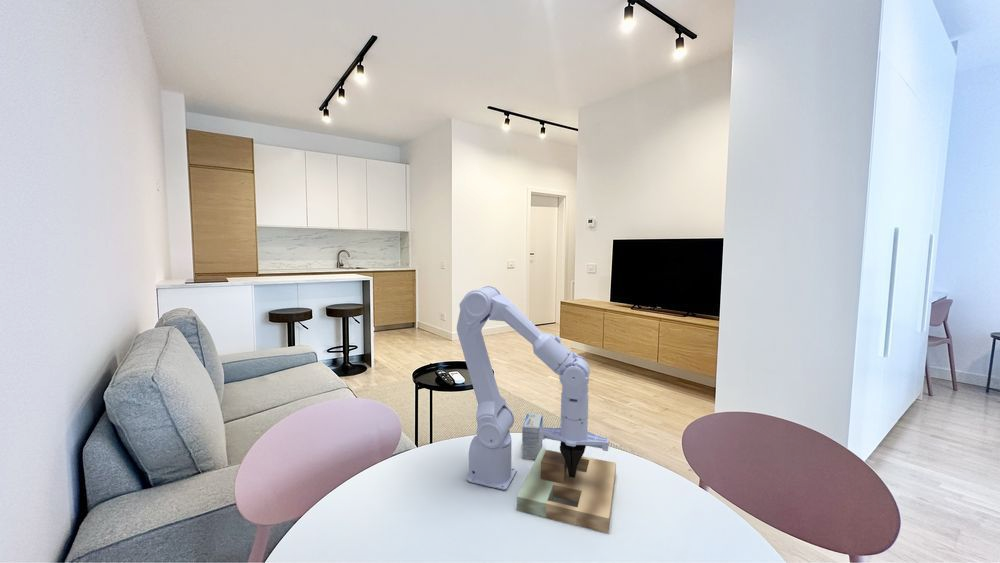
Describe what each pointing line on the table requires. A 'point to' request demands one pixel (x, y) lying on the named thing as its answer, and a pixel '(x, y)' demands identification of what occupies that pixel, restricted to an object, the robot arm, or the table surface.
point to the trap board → (572, 494)
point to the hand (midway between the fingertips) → (572, 474)
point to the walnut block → (553, 467)
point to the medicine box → (531, 436)
